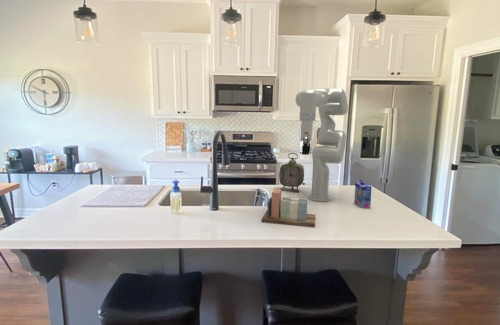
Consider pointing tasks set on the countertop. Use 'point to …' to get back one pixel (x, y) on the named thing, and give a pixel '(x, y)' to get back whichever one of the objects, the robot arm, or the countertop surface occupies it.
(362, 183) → the ink cartridge box
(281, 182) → the tabletop clock
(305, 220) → the walnut shelf
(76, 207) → the countertop surface
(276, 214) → the terracotta rectangular block
